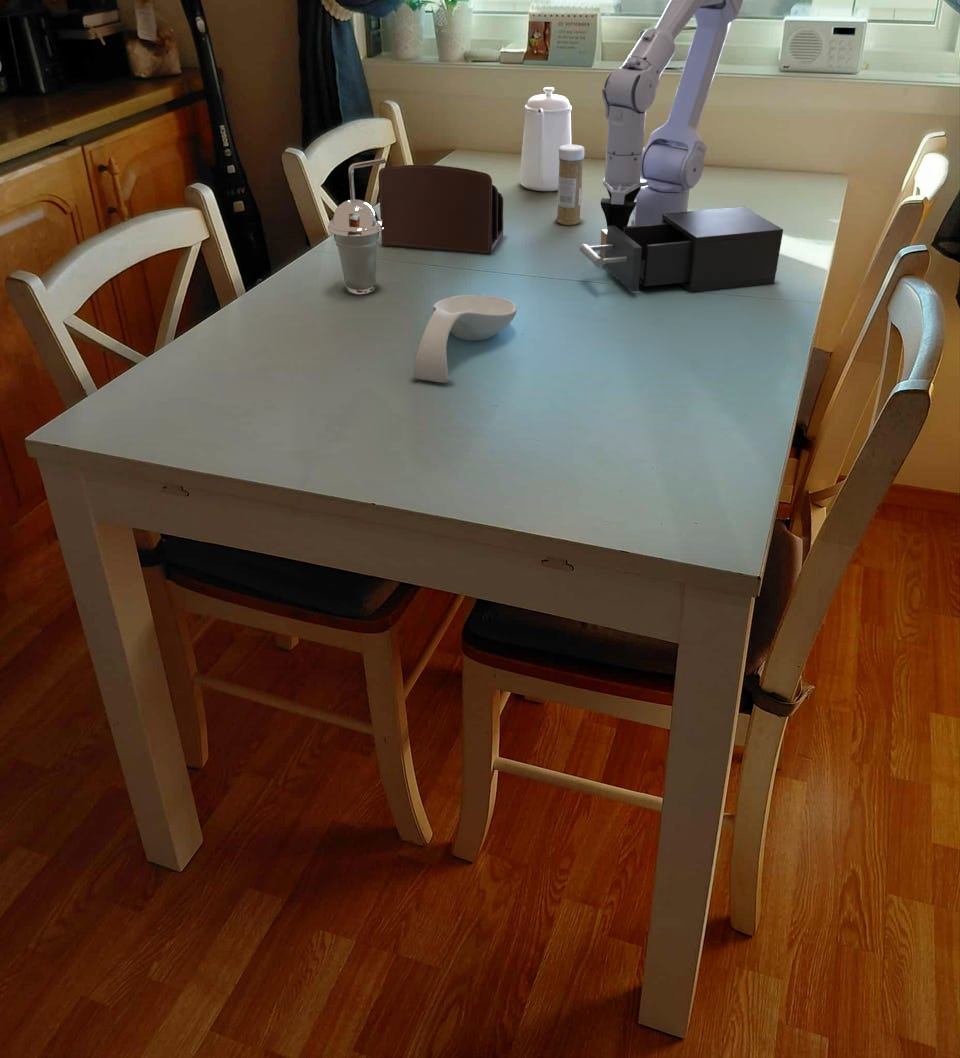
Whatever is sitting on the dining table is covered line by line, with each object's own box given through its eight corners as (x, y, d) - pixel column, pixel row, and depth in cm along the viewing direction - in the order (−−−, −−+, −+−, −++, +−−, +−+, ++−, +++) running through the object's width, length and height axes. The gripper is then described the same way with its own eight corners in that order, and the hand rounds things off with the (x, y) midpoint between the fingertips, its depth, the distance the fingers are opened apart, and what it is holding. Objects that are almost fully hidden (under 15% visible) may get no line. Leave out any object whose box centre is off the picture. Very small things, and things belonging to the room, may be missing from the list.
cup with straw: (355, 276, 159) (345, 147, 148) (401, 286, 155) (394, 155, 144) (322, 292, 153) (309, 160, 142) (369, 303, 149) (359, 168, 138)
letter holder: (491, 255, 167) (491, 169, 159) (380, 246, 171) (375, 163, 163) (503, 236, 175) (504, 155, 167) (398, 229, 179) (393, 148, 171)
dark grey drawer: (598, 295, 149) (601, 251, 145) (573, 270, 158) (575, 228, 154) (711, 283, 153) (717, 240, 149) (680, 259, 162) (685, 218, 158)
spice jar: (585, 222, 182) (589, 146, 174) (569, 227, 179) (572, 151, 172) (567, 216, 185) (570, 142, 177) (550, 222, 182) (553, 146, 174)
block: (608, 263, 163) (610, 237, 161) (599, 255, 167) (601, 229, 164) (633, 261, 164) (635, 235, 162) (623, 253, 168) (625, 227, 165)
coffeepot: (508, 201, 193) (510, 99, 182) (529, 169, 213) (531, 75, 202) (563, 204, 191) (567, 101, 180) (578, 171, 211) (583, 77, 201)
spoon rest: (450, 312, 146) (449, 265, 142) (526, 321, 143) (527, 273, 139) (390, 378, 128) (386, 326, 124) (475, 390, 125) (475, 337, 121)
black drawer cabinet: (689, 292, 152) (696, 237, 148) (657, 265, 162) (662, 213, 158) (774, 283, 155) (783, 229, 151) (737, 257, 166) (744, 206, 161)
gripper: (646, 164, 149) (638, 251, 157) (652, 141, 161) (645, 224, 168) (600, 161, 150) (594, 248, 158) (609, 139, 162) (604, 221, 170)
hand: (618, 236), depth 163 cm, fingers open, 7 cm apart
